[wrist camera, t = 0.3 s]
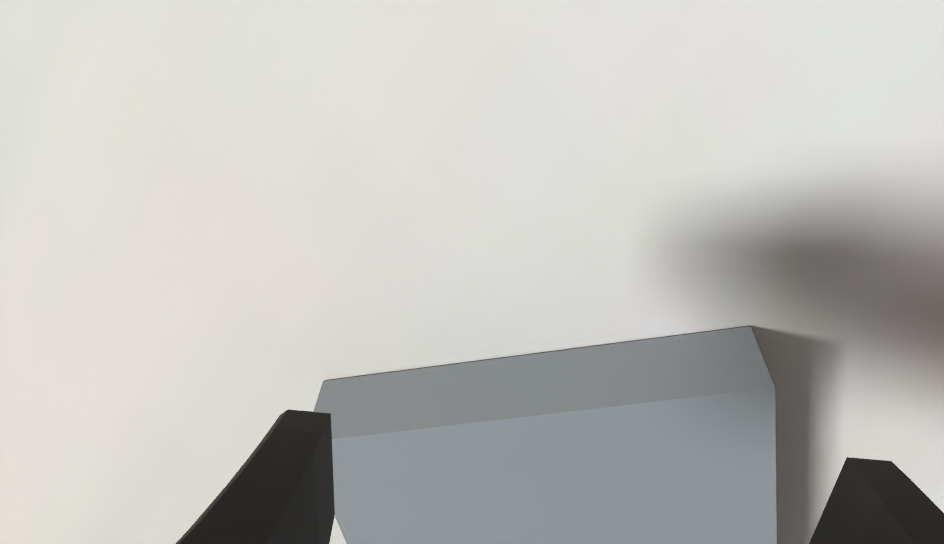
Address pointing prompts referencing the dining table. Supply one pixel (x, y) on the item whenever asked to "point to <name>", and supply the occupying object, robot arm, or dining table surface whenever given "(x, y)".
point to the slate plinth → (562, 447)
